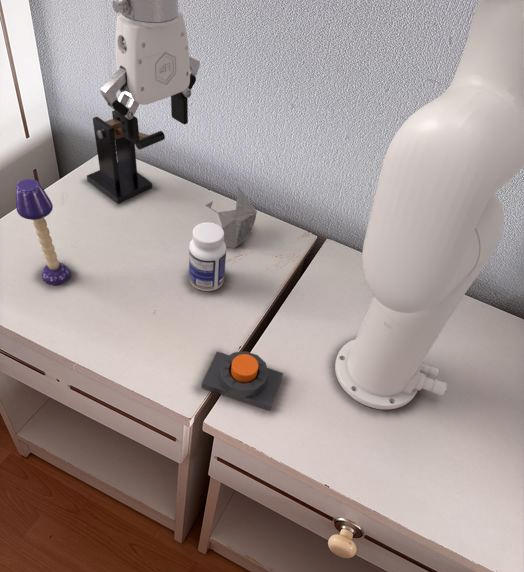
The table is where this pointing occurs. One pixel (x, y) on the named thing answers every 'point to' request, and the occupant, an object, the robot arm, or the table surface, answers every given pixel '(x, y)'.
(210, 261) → the pill bottle
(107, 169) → the bracket
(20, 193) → the toy lamp
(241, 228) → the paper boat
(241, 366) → the button
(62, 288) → the table surface
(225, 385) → the button box
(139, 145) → the lever
